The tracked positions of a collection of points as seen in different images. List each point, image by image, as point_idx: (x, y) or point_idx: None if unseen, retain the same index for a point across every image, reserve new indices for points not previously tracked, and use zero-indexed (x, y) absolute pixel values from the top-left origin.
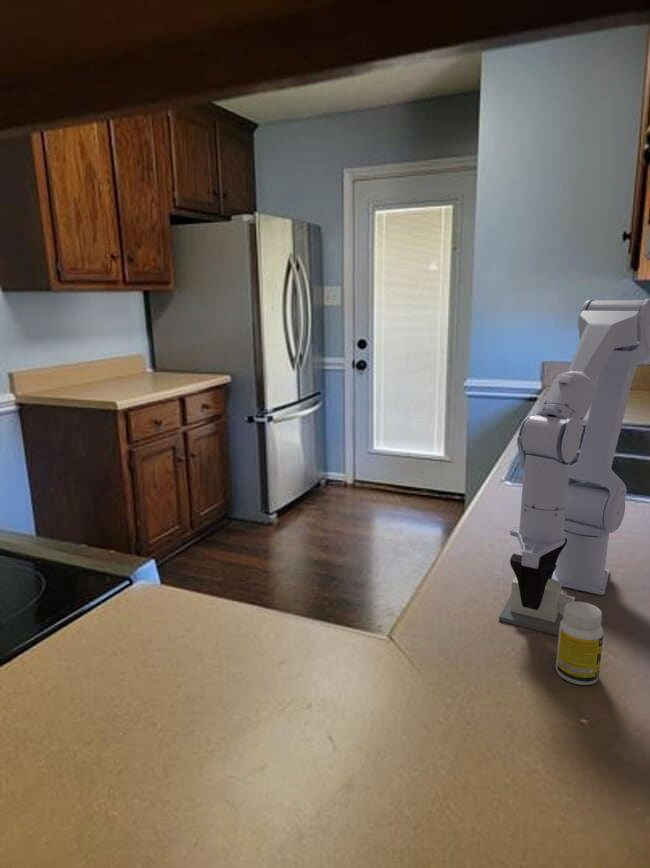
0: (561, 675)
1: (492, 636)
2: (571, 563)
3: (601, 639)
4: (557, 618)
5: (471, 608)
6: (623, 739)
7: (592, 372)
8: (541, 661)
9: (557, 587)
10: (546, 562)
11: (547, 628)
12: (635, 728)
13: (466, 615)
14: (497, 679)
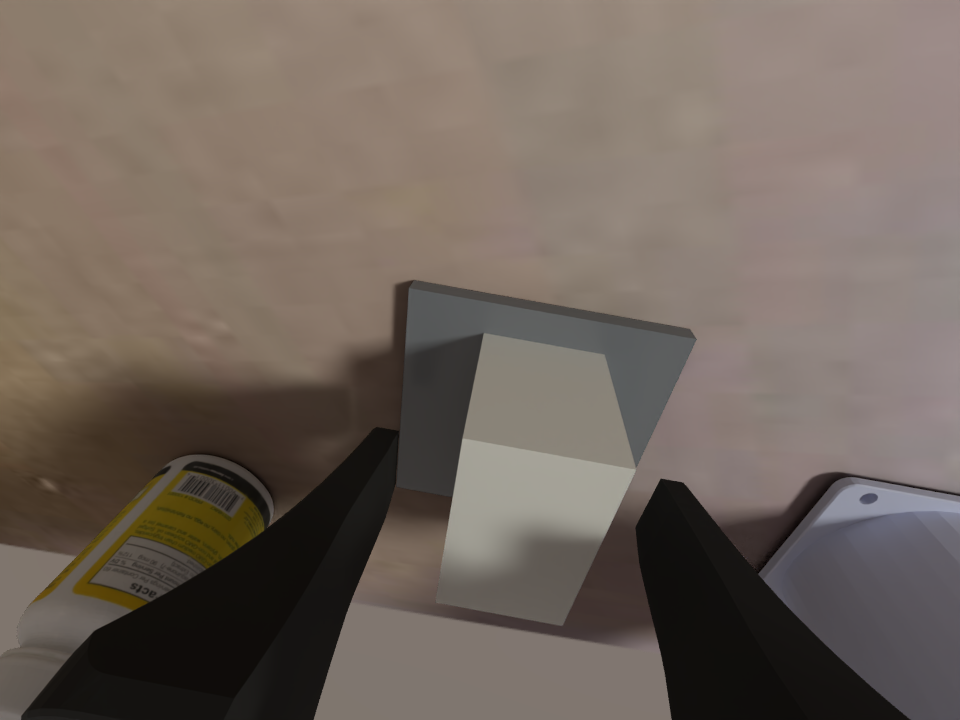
0: (164, 466)
1: (266, 260)
2: (875, 649)
3: None
4: None
5: (486, 120)
6: (59, 534)
7: None
8: (218, 419)
9: (485, 606)
10: (685, 656)
11: (400, 455)
12: None
13: (391, 101)
14: (12, 296)
